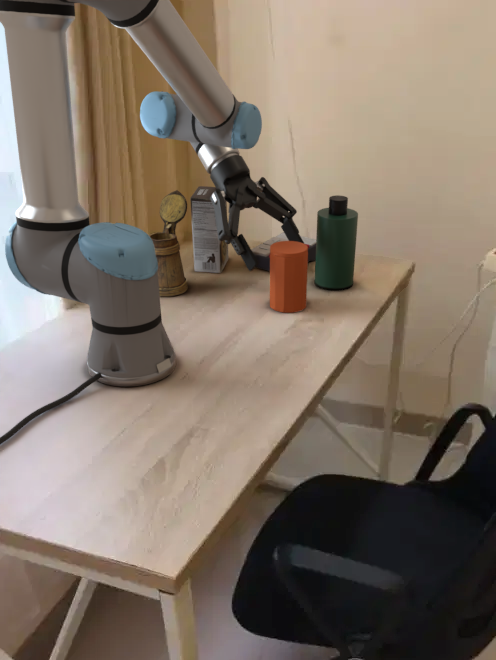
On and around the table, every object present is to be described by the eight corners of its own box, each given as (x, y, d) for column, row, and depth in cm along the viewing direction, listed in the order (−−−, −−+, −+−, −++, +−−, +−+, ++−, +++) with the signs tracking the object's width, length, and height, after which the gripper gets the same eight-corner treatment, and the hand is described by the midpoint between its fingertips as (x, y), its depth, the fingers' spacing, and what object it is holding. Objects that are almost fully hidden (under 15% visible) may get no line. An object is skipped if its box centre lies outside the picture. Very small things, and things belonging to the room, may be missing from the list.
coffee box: (202, 257, 175) (198, 185, 165) (229, 259, 174) (227, 186, 164) (193, 271, 168) (188, 197, 158) (221, 273, 167) (218, 198, 157)
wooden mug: (202, 276, 166) (197, 191, 155) (177, 299, 155) (170, 210, 144) (165, 271, 168) (158, 187, 157) (138, 293, 157) (128, 205, 146)
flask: (328, 294, 158) (333, 206, 147) (306, 280, 164) (309, 195, 153) (361, 286, 162) (368, 200, 151) (338, 273, 168) (343, 190, 157)
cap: (282, 315, 149) (282, 255, 142) (263, 302, 154) (263, 244, 147) (312, 307, 153) (315, 249, 145) (293, 295, 157) (294, 238, 150)
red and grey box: (246, 249, 169) (283, 229, 178) (246, 267, 172) (283, 246, 181) (286, 259, 164) (322, 238, 173) (286, 278, 167) (321, 256, 176)
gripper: (259, 165, 159) (309, 253, 160) (168, 188, 145) (224, 284, 146) (278, 142, 153) (329, 234, 154) (184, 164, 138) (242, 264, 139)
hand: (278, 258), depth 150 cm, fingers open, 13 cm apart
